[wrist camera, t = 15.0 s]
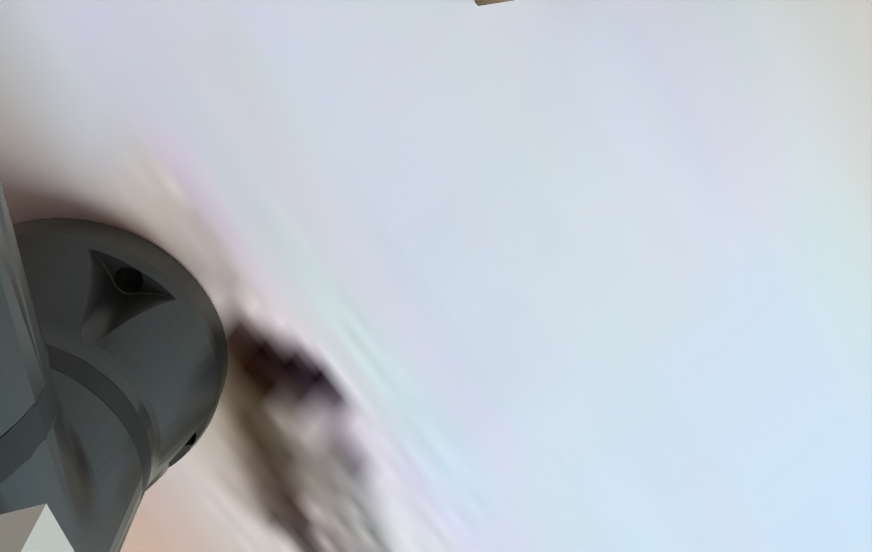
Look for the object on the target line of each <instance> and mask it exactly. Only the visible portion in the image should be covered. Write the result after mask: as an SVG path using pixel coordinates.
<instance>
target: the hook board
mask: <svg viewBox="0 0 872 552" xmlns="http://www.w3.org/2000/svg"><path fill="white" fill-rule="evenodd" d="M506 1H512V0H475V3H476V4H477V5H478V6H480V5H487V4H493V3H500V2H506Z"/></svg>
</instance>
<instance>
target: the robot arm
mask: <svg viewBox="0 0 872 552" xmlns="http://www.w3.org/2000/svg"><path fill="white" fill-rule="evenodd" d="M227 366H228V354H227V344H226V339H225V334H224V331H223V327H222V324H221V321H220V319H219V317H218V314H217V312H216V310H215V308H214V306H213V304H212V302H211V301H210V299H209V298H208V296H207V294H206V293H205V292H204V290H203V289H202V287H201V286H200V285H199V284H198V282H197V281H196V280H195V279H194V278H193V277H192V276H191V275H190V274H189V273H188V271H187V270H186V269H185V268H183V267H182V266H181V265H180V264H179V263H178V262H177V261H175V260H174V259H173V258H172V257H170V256H169V255H168V254H166V253H165V252H163V251H162V250H160V249H159V248H157V247H156V246H154V245H152V244H151V243H149V242H147V241H145V240H143V239H141V238H139V237H137V236H135V235H133V234H131V233H128V232H126V231H123V230H120V229H117V228H115V227H111V226H108V225H104V224H100V223H96V222H91V221H84V220H76V219H42V220H34V221H28V222H23V223H19V224H16V225H12V221H11V218H10V214H9V210H8V206H7V202H6V198H5V195H4V191H3V187H2V183H1V179H0V552H120V550H121V548H122V546H123V543H124V541H125V538H126V536H127V534H128V531H129V529H130V526H131V524H132V521H133V519H134V517H135V514H136V512H137V509H138V507H139V505H140V502H141V500H142V498H143V495H144V493H145V491H146V490H148V489H149V488H150V487H151V486H152V485H153V484H154V483H155V482H156V481H157V480H158V479H159V478H160V477H161V476H162V475H163V474H164V473H165V472H166V471H167V469H168V468H169V467H170V466H172V465H173V464H175V463H176V462H177V461H178V460H180V459H181V458H182V457H183V456H184V455H185V454H186V453H187V452H188V451H189V450H190V449H191V448H192V447H193V446H194V445H195V444H196V443H197V442H198V440H199V439H200V438H201V436H202V435H203V433H204V432H205V430H206V429H207V427H208V425H209V424H210V422H211V420H212V418H213V415H214V413H215V410H216V408H217V405H218V402H219V399H220V396H221V394H222V391H223V388H224V384H225V380H226V375H227Z"/></svg>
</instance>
